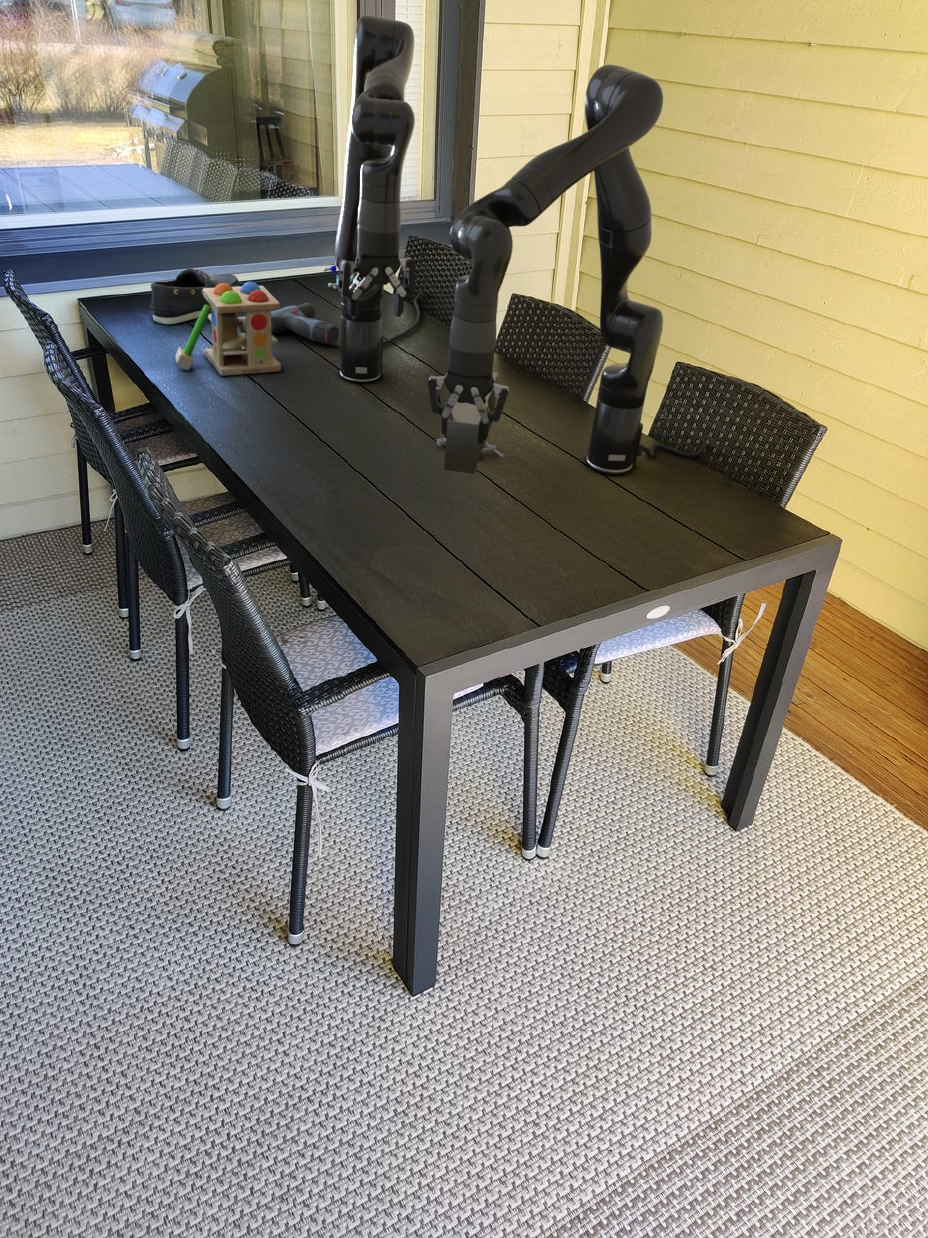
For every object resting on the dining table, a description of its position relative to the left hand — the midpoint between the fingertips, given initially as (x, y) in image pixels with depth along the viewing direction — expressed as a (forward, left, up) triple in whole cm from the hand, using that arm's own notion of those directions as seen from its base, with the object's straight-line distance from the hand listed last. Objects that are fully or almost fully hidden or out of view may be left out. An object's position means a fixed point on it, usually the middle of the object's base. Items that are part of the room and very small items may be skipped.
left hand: (375, 316), depth 182 cm
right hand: (+11, +28, -12) cm, 32 cm away
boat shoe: (-40, -89, -28) cm, 101 cm away
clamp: (-14, +14, -28) cm, 34 cm away
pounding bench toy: (-14, -54, -28) cm, 63 cm away
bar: (+2, +24, -17) cm, 30 cm away
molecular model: (-82, -74, -28) cm, 114 cm away
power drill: (-46, -55, -28) cm, 77 cm away
